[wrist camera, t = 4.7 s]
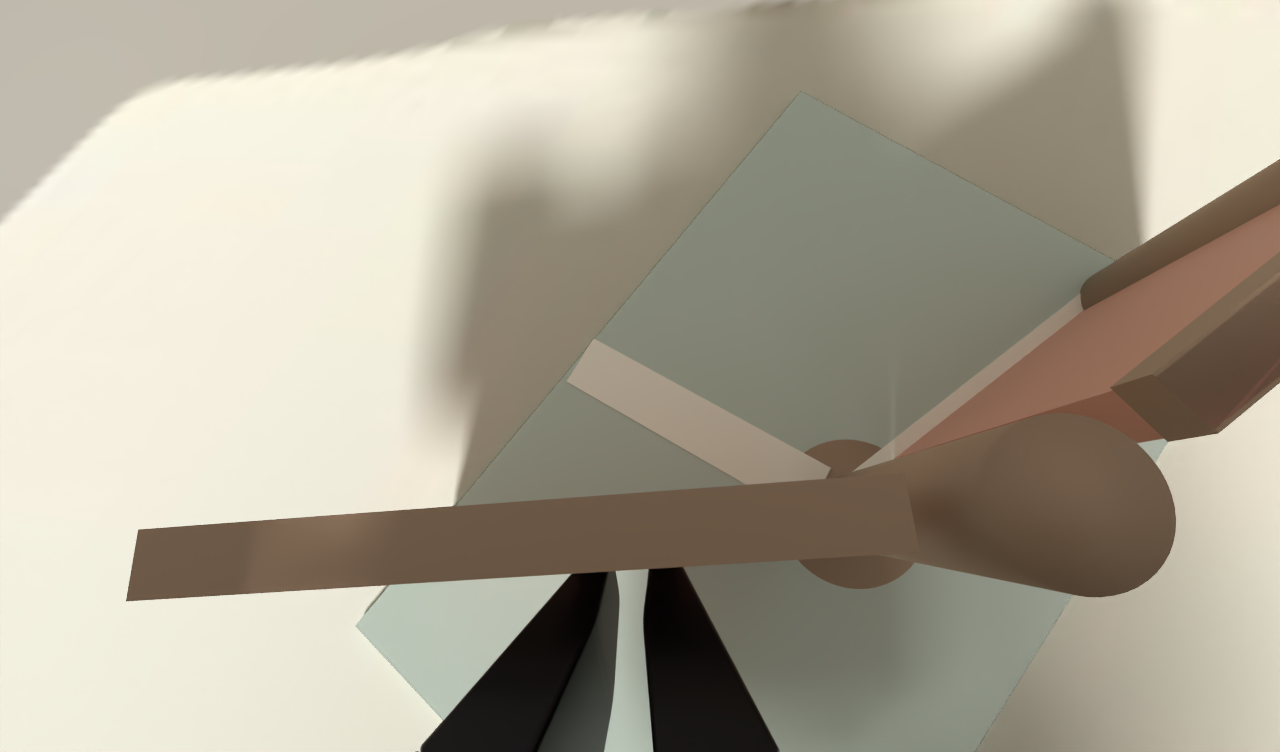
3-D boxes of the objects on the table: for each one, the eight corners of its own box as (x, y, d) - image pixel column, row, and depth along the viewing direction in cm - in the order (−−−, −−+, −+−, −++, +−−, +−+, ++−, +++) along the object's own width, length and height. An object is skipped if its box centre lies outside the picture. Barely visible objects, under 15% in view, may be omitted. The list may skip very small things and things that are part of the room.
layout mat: (1228, 331, 15) (1240, 327, 15) (771, 1062, 12) (773, 1077, 12) (798, 97, 19) (800, 90, 18) (361, 623, 16) (353, 625, 15)
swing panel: (885, 471, 15) (1143, 405, 6) (899, 547, 14) (1202, 591, 6) (439, 504, 16) (134, 487, 7) (437, 576, 15) (106, 649, 7)
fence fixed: (1160, 299, 16) (1801, -6, 7) (923, 661, 14) (1343, 930, 5) (984, 202, 17) (1312, -163, 8) (747, 523, 15) (817, 529, 6)
